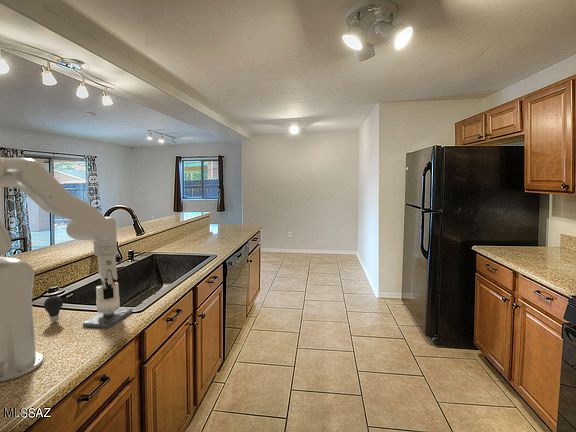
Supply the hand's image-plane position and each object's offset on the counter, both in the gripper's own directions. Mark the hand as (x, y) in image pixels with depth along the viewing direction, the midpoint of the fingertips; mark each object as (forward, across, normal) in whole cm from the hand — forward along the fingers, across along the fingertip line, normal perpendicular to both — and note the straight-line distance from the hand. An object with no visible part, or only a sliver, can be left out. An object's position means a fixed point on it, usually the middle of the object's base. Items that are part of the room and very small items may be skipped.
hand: (107, 296), depth 115 cm
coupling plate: (+9, 0, 0) cm, 9 cm away
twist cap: (+5, 0, 0) cm, 5 cm away
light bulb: (+9, +9, +16) cm, 21 cm away
